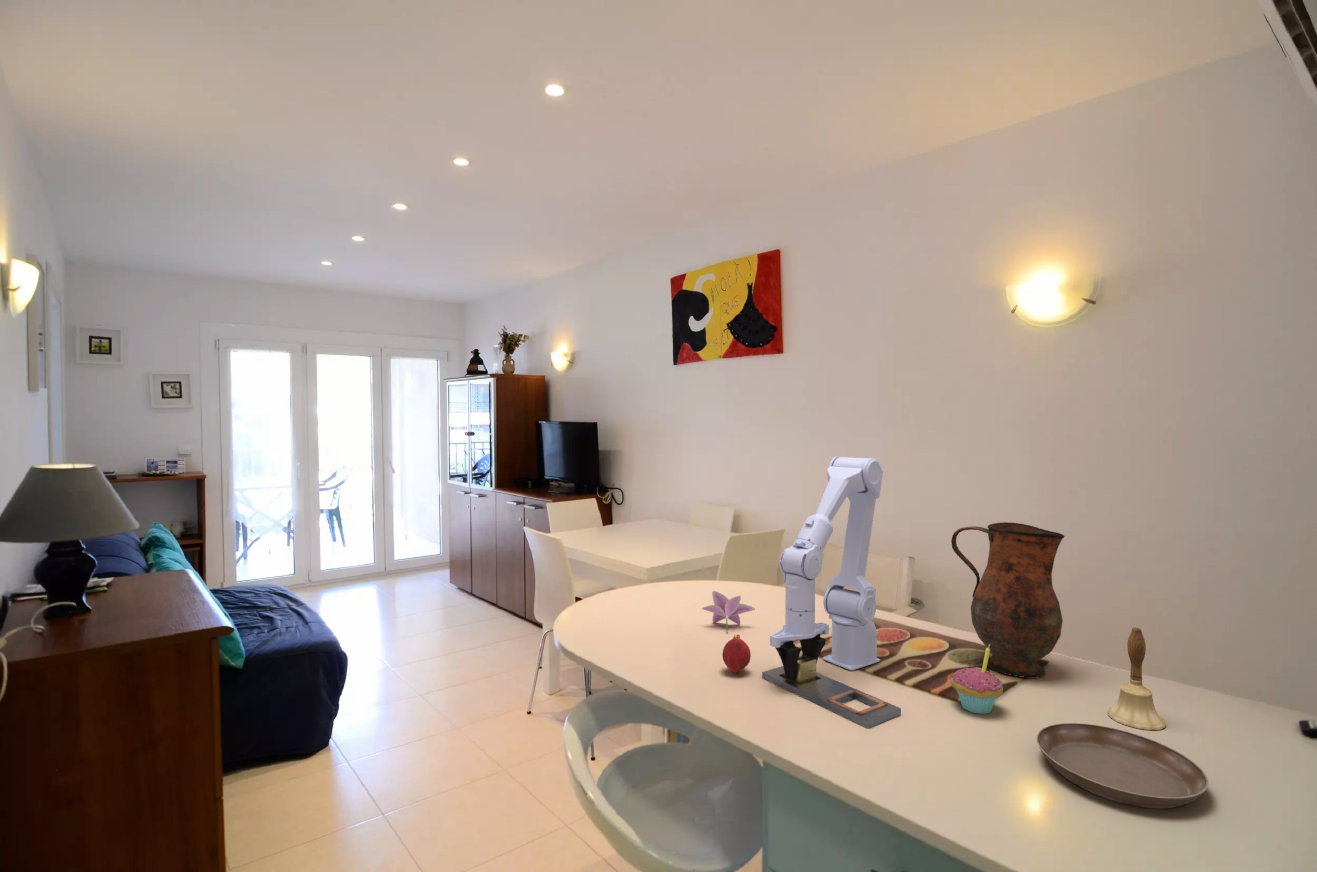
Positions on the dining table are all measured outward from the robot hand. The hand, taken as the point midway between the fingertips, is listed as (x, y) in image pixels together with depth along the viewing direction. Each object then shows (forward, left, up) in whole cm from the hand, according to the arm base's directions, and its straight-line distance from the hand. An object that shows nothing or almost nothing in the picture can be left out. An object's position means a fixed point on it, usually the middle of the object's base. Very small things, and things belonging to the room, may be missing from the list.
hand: (799, 675), depth 131 cm
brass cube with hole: (0, 0, -1) cm, 1 cm away
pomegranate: (+7, -11, -2) cm, 13 cm away
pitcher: (-42, +18, -2) cm, 46 cm away
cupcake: (-18, +26, -2) cm, 32 cm away
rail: (0, +7, -1) cm, 7 cm away
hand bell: (-37, +44, -2) cm, 58 cm away
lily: (-10, -34, -2) cm, 36 cm away
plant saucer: (-14, +50, -2) cm, 52 cm away
